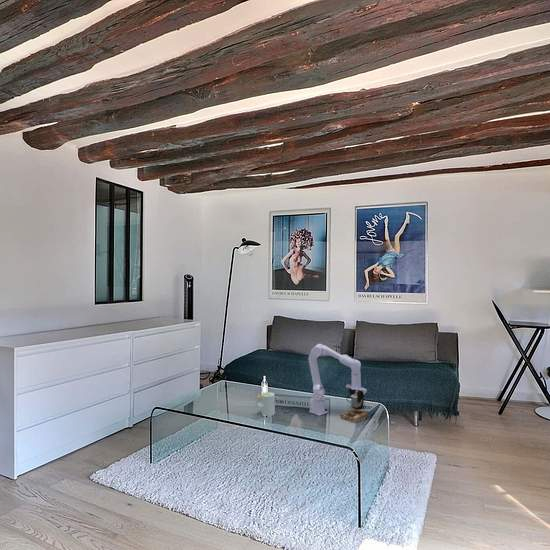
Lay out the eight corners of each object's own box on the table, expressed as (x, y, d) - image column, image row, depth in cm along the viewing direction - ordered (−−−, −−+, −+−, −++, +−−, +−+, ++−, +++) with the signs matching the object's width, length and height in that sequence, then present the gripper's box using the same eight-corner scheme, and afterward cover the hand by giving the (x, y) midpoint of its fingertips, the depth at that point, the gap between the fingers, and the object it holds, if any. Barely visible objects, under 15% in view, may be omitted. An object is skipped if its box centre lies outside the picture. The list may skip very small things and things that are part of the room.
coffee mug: (365, 406, 279) (365, 391, 279) (364, 410, 271) (364, 395, 270) (347, 404, 282) (347, 390, 282) (346, 409, 274) (346, 394, 273)
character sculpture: (268, 407, 279) (267, 388, 279) (282, 411, 273) (282, 390, 272) (249, 417, 263) (249, 396, 262) (264, 421, 256) (264, 399, 256)
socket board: (340, 418, 259) (340, 414, 259) (354, 412, 268) (354, 408, 268) (354, 423, 251) (354, 418, 250) (368, 416, 260) (368, 412, 260)
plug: (351, 406, 261) (351, 395, 260) (355, 404, 263) (355, 393, 263) (356, 407, 258) (356, 396, 257) (360, 406, 260) (360, 394, 260)
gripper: (342, 379, 263) (343, 400, 263) (361, 383, 252) (362, 405, 253) (349, 376, 268) (350, 397, 268) (368, 381, 257) (369, 403, 257)
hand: (356, 401), depth 261 cm, fingers closed on plug, 4 cm apart
